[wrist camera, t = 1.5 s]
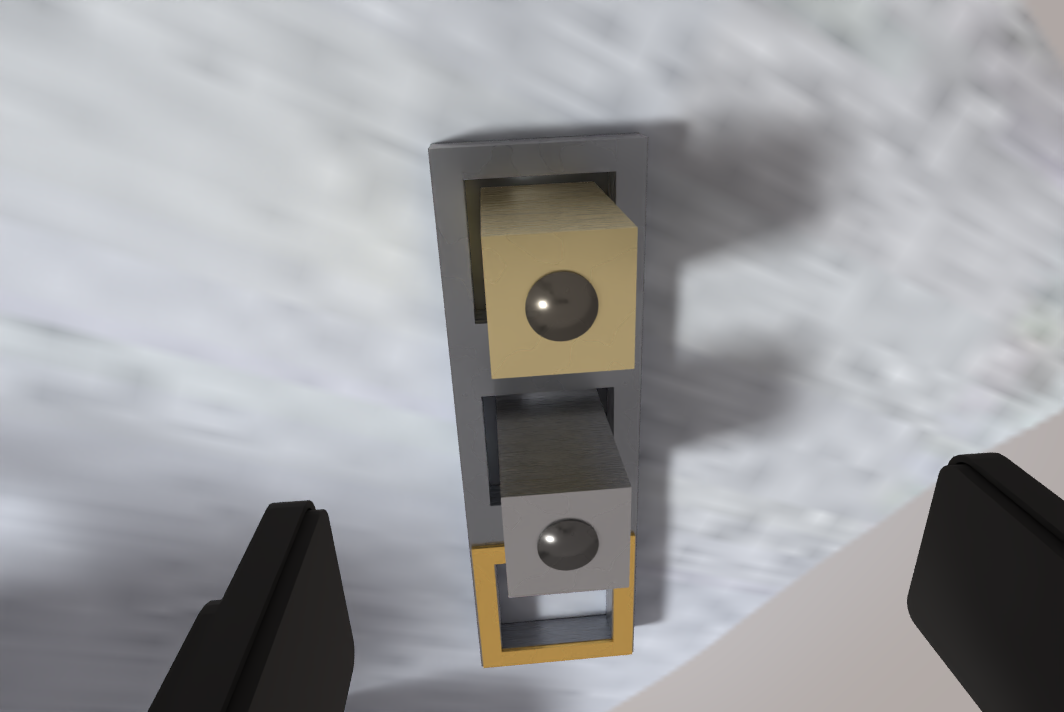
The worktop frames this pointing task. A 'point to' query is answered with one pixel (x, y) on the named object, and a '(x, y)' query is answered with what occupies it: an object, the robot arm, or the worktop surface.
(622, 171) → the grey block holder rack
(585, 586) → the grey block with knob
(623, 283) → the wooden block with knob
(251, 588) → the robot arm
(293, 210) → the worktop surface
